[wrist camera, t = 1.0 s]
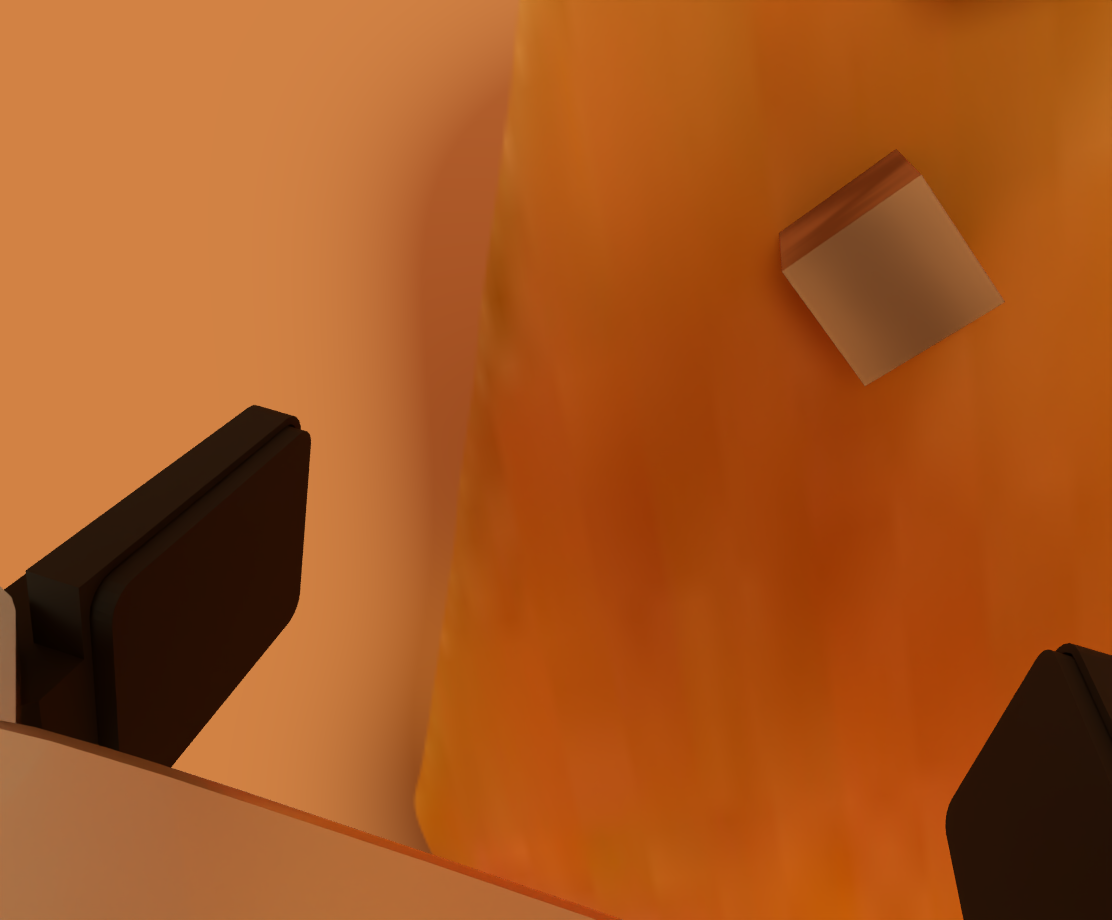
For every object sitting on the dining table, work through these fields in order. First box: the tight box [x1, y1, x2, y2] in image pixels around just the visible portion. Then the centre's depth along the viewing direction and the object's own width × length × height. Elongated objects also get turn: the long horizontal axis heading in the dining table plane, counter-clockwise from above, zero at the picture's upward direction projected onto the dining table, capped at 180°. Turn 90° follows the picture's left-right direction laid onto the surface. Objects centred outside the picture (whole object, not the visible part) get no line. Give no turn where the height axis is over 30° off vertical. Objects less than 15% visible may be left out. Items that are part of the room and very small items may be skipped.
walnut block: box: [779, 150, 1005, 386], centre depth 32 cm, size 5×5×6 cm
